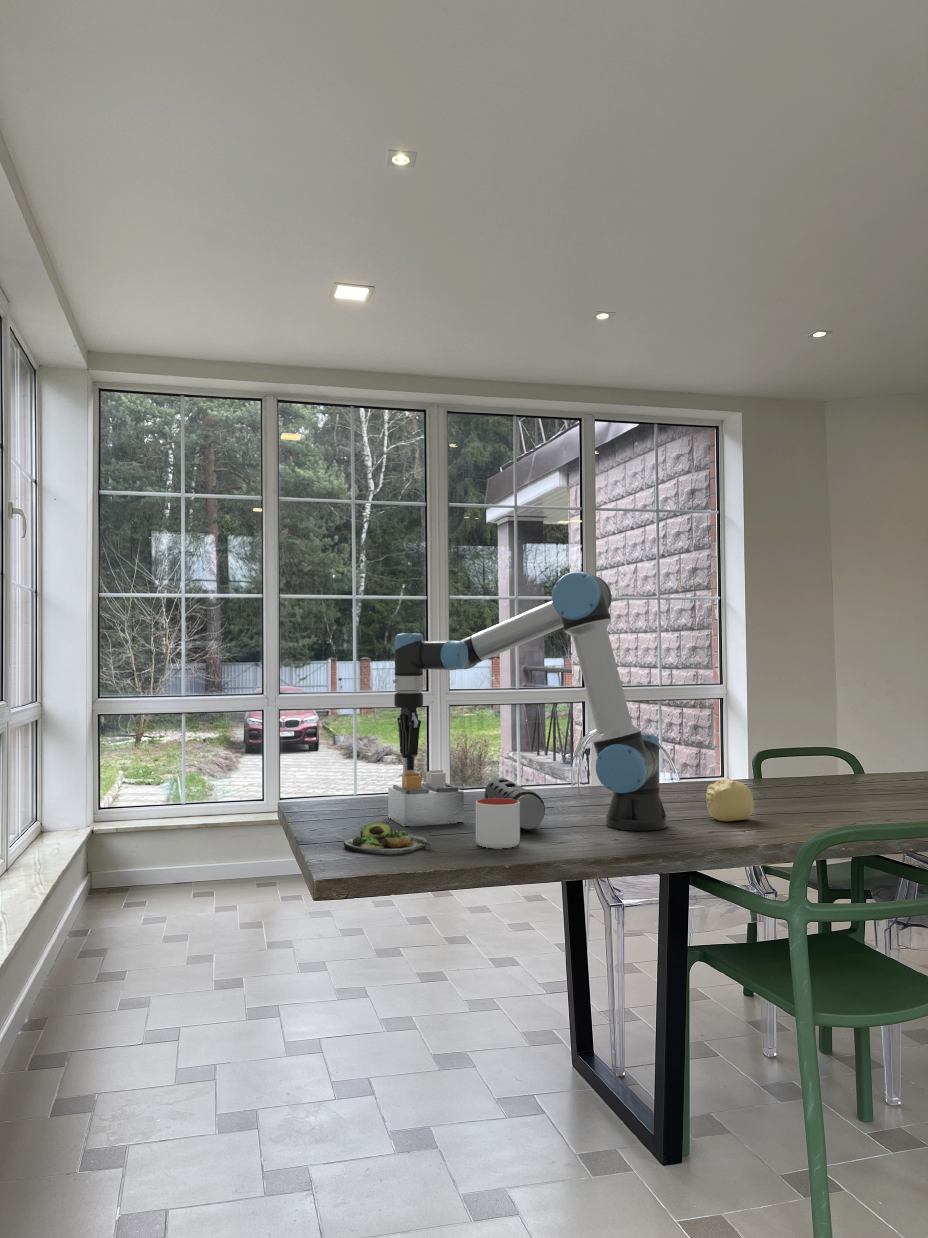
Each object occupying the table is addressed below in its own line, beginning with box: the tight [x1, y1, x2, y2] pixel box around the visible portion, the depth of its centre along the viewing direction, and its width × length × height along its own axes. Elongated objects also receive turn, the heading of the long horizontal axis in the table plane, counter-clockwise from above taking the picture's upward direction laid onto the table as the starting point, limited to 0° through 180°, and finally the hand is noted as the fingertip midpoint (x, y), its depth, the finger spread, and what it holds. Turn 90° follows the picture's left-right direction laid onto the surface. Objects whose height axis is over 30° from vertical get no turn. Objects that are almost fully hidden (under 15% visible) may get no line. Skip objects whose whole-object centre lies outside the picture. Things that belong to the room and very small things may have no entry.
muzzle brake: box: [484, 777, 546, 831], centre depth 235 cm, size 10×28×10 cm, turn 12°
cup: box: [475, 798, 521, 850], centre depth 210 cm, size 10×10×10 cm
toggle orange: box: [401, 772, 423, 790], centre depth 239 cm, size 4×4×4 cm
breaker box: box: [387, 782, 465, 828], centre depth 241 cm, size 14×16×9 cm
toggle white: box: [425, 769, 447, 787], centre depth 246 cm, size 4×4×4 cm
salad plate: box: [343, 821, 433, 855], centre depth 208 cm, size 19×18×5 cm
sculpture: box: [705, 778, 755, 822], centre depth 241 cm, size 12×12×11 cm
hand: (408, 782), depth 242 cm, fingers closed
